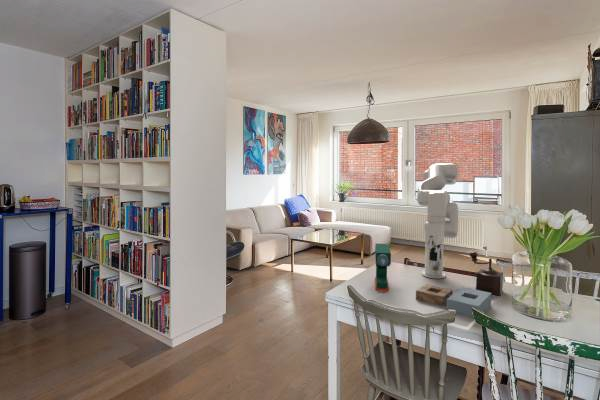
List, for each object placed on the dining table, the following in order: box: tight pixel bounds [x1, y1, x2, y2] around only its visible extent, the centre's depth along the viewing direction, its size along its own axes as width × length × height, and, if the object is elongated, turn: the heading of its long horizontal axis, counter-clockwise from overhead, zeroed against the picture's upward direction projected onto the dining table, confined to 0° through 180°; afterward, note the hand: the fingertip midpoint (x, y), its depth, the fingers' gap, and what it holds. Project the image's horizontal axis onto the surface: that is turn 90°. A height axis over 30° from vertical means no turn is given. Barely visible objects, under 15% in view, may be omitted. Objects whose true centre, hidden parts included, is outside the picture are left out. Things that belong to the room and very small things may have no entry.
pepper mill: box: [469, 251, 504, 297], centre depth 170 cm, size 16×11×18 cm
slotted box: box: [446, 286, 492, 318], centre depth 147 cm, size 20×12×6 cm, turn 138°
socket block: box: [415, 283, 454, 307], centre depth 157 cm, size 12×12×5 cm
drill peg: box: [431, 247, 440, 271], centre depth 156 cm, size 4×4×10 cm
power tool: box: [374, 242, 392, 292], centre depth 173 cm, size 32×7×20 cm, turn 168°
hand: (435, 259), depth 156 cm, fingers closed on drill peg, 3 cm apart
